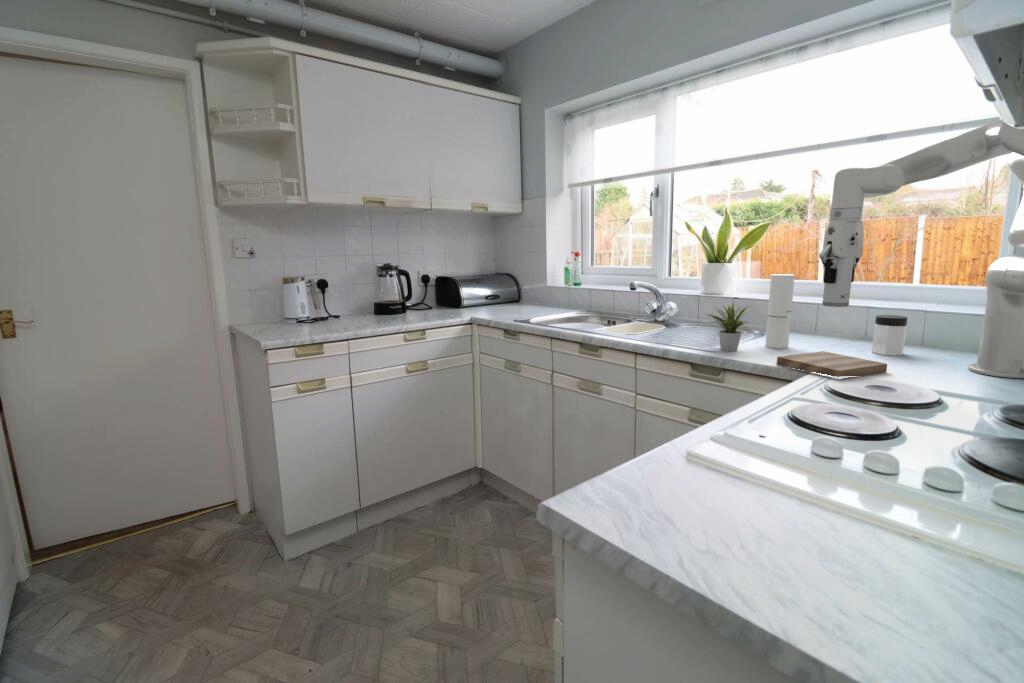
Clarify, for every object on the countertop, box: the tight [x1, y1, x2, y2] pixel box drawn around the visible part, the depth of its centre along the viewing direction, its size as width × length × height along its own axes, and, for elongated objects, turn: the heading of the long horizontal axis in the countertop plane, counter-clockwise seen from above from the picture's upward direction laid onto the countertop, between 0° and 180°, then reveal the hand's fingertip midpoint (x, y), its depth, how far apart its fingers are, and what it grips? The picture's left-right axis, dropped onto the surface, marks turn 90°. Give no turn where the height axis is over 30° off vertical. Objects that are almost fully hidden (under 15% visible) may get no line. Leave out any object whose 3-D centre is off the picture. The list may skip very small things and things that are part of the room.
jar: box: [871, 314, 909, 356], centre depth 161 cm, size 9×8×12 cm
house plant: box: [706, 303, 752, 352], centre depth 170 cm, size 14×14×16 cm
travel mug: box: [822, 232, 858, 308], centre depth 138 cm, size 6×7×20 cm
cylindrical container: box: [764, 273, 796, 349], centre depth 173 cm, size 7×7×25 cm
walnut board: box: [776, 350, 888, 377], centre depth 143 cm, size 19×19×2 cm
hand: (838, 282), depth 139 cm, fingers closed on travel mug, 6 cm apart
